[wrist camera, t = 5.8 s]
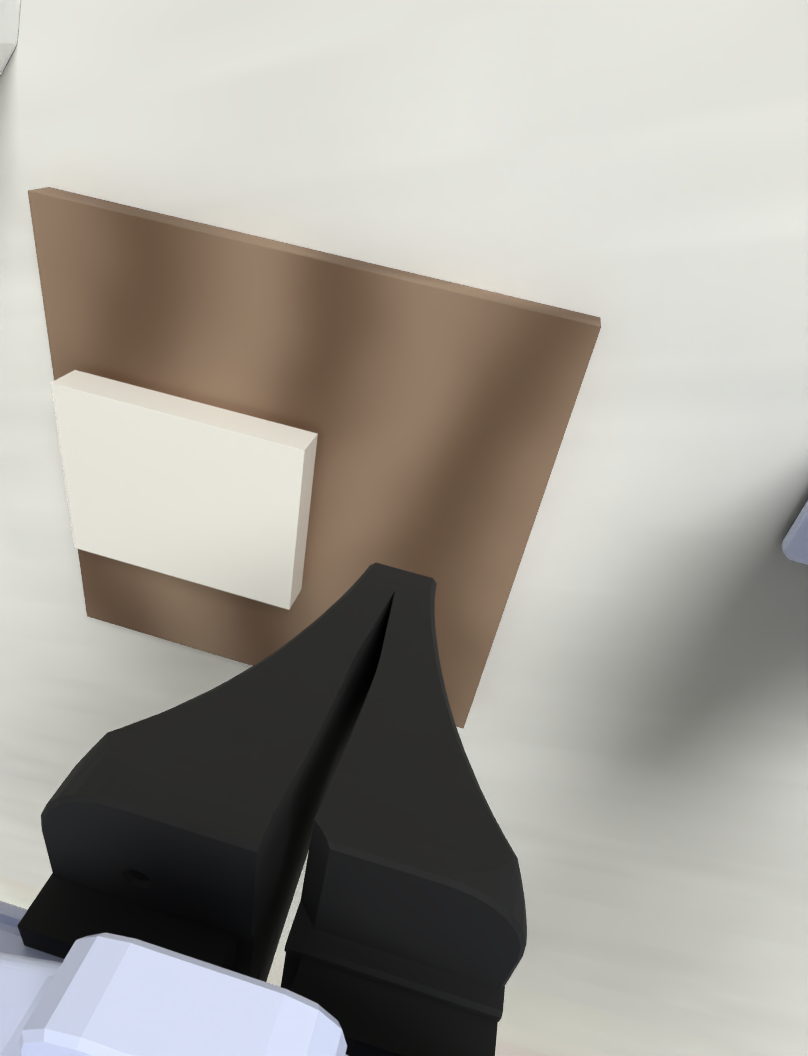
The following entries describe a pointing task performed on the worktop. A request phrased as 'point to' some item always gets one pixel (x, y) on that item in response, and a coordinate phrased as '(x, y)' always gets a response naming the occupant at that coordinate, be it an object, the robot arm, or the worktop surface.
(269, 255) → the walnut board
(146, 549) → the glazed tile
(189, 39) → the worktop surface
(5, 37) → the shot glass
